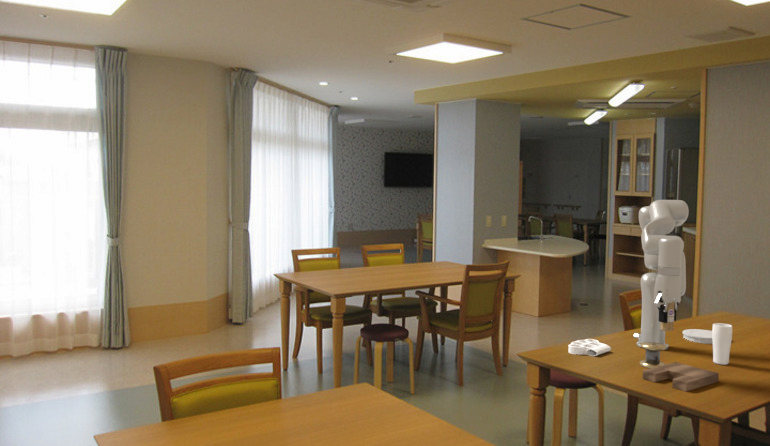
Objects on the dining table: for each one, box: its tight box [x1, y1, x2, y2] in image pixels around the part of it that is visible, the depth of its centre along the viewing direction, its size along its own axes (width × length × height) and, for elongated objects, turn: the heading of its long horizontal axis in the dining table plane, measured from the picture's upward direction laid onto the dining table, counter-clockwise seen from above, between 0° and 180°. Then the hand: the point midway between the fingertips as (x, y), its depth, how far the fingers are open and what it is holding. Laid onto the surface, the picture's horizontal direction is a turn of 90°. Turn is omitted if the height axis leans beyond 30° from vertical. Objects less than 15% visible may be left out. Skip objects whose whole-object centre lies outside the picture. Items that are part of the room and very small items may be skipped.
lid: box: [682, 328, 713, 345], centre depth 276 cm, size 17×20×3 cm
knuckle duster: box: [567, 338, 612, 357], centre depth 254 cm, size 3×18×15 cm
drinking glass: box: [711, 322, 733, 366], centre depth 237 cm, size 7×7×15 cm
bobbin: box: [639, 342, 667, 369], centre depth 233 cm, size 9×9×8 cm
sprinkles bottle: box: [660, 298, 675, 332], centre depth 224 cm, size 5×5×14 cm
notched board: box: [642, 361, 720, 392], centre depth 216 cm, size 16×20×3 cm
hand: (667, 320), depth 224 cm, fingers closed on sprinkles bottle, 4 cm apart
